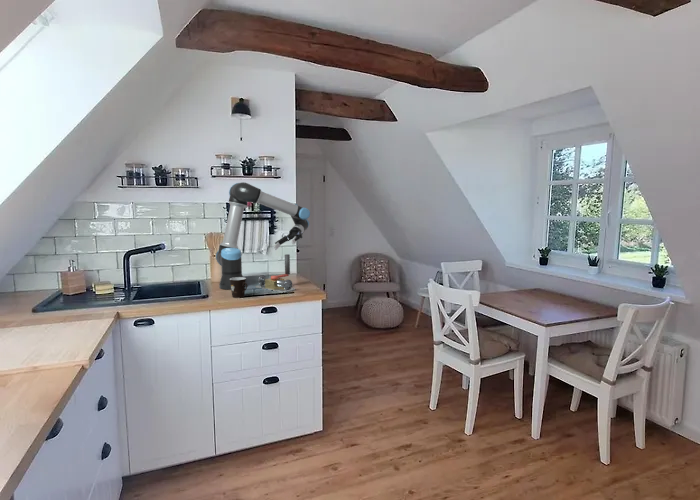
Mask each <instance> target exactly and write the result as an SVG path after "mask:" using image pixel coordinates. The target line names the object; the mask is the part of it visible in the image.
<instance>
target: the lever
mask: <svg viewBox="0 0 700 500" xmlns="http://www.w3.org/2000/svg"><path fill="white" fill-rule="evenodd" d="M290 258H291V256H290V254H284V274H278V275H270V278H271V279H278V278H285V277H289V276H290V274H291V261H290V260H291V259H290Z"/></svg>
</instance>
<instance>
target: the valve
mask: <svg viewBox="0 0 700 500" xmlns="http://www.w3.org/2000/svg"><path fill="white" fill-rule="evenodd" d="M257 283H258V285H255V286H254V287H256V289H260V288H262V289H261V290H265V289H268V290H267V291H271V290H273V291H272V292H276V291H277V292H276V293H281V294H282V293H283V292H284V293H286V292H287V291H288V292H292V291H294V290H296V288H293V281H292V280H291V279H286V280H285V278H283V277H281V278H278V279H271V277H266V275H259V276H258V278H257Z"/></svg>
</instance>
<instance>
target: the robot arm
mask: <svg viewBox="0 0 700 500" xmlns="http://www.w3.org/2000/svg"><path fill="white" fill-rule="evenodd" d="M228 195H229V198H228V204H229V205H230V206H229V211H228V215H227V219H226V220H227V221H226V226H225V229H224V234H223V238H222V239H223V241H222V242H221V243H219V246H218V250H217V252H216V254H215V260H216V262H217V263H218V265H219V266H221V276H220V277H221V278H220V281H219V289H220V290H231V285H230V278H235V277H244V275H243V271H242V270H243V267H242V251H241V249H240V248H239V246H238V245H237V244H238V239H239V235H240V230H241V225H242V220H243V216H244V210H245V209H246V208H247V207H248V204H249V203H252V204H259V205H263V206H264V207H267V208H270V209H273V210H276V211H278V212H282V213H284V214H285V215H289V216H290V217H291V219H292V221H293V223H294V226H292V228H291V229H289V233H288V234H287V235H284V236H283V237H281V238H280V239H278V240H277V241H275V242H274V244H275V245H273V249H274V251H277V250H278V249H279V248H280V247H281V245H283V244H285V243H287V242H290V241H291V244H292V245H295V244H296V243H297V242H298V240H301V239H302V238H303V233H305V231H306V230H308V228H309V226H310V221H309V220H308V219H309V218H310V215H311V211H310V210H309V209H308V208H307V207H302V206H300V205H298V204H297V203H292V202H289V201H286V200H284V199H282V198H279V197H276V195H272V194H269V193H266V192H264V191H262V189H261V188H258V187H256V186H254V185H252V184H250V183H247V182H236V183H233V185H231V186H230V188H229V191H228Z"/></svg>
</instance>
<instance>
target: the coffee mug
mask: <svg viewBox="0 0 700 500" xmlns="http://www.w3.org/2000/svg"><path fill="white" fill-rule="evenodd" d="M246 280H247V278H246V277H244V276H243V277H235V278H230V285H231V289H230V290H231V297H232V298H234V299H241V298H244V297H245V296H246V295H245V294H246V290H247V288H248V283H247V281H246Z"/></svg>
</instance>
